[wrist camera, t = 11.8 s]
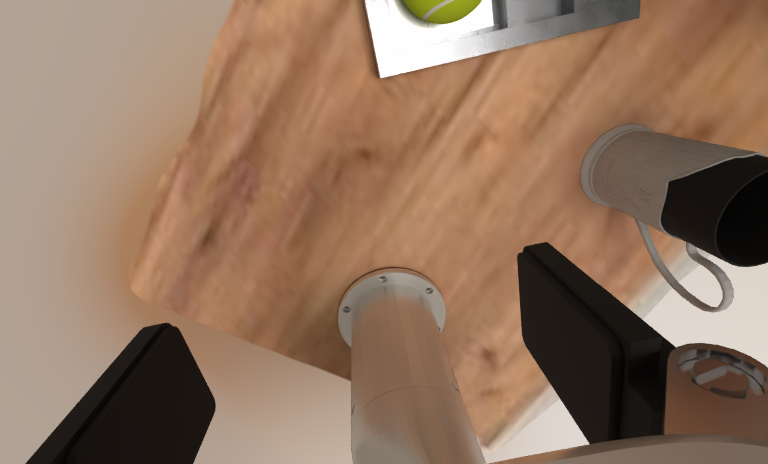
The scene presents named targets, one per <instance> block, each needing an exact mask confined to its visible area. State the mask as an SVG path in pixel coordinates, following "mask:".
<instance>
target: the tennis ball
mask: <svg viewBox="0 0 768 464" xmlns="http://www.w3.org/2000/svg"><path fill="white" fill-rule="evenodd" d="M404 1H405V3H406V4H407V6H408V7H409V9H410V10H411V11H412V12H413V13H414V14H415V15H416V16H417V17H419V18H420V19H421V18H422V19H423V20H424V21H426V22H429V23H433V24H449V23H453V22H456V21H459V20H461V19H463V18H464V17H466V16H467V15H469V14H470V13H471V12H473V11H474V10H475V9H476V8H477V7H478V6H479V5H480V3H481V2H482V1H483V0H404Z"/></svg>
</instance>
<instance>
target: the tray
mask: <svg viewBox="0 0 768 464" xmlns="http://www.w3.org/2000/svg"><path fill="white" fill-rule="evenodd" d="M363 4H364V9H365V14H366V19H367V24H368V29H369V34H370V39H371V44H372V49H373V54H374V58H375V63H376V68H377V73H378V78H384V77H388V76H392V75H396V74H401V73H405V72H409V71H414V70H418V69H422V68H426V67H431V66H435V65H439V64H444V63H448V62H452V61H456V60H461V59H465V58H469V57H474V56H478V55H482V54H486V53H491V52H495V51H499V50H503V49H508V48H512V47H516V46H521V45H525V44H529V43H533V42H538V41H542V40H546V39H551V38H555V37H559V36H563V35H568V34H572V33H576V32H581V31H585V30H589V29H593V28H598V27H602V26H606V25H611V24H615V23H619V22H623V21H628V20H632V19H636V18H639V14H640V0H483V1H482V2H481V3H480V5H479V6H478V7H477V8H476V9H475V10H474V11H473V12H471V13H470V14H469V15H467V16H466V17H464V18H463V19H461V20H459V21H456V22H453V23H449V24H433V23H429V22H426V21H424V20H423V19H422V18H421V19H420V18H419V17H417V16H416V15H415V14H414V13H413V12H412V11H411V10H410V9H409V7H408V6H407V4H406V3H405V1H404V0H363Z"/></svg>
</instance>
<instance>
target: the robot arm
mask: <svg viewBox="0 0 768 464" xmlns="http://www.w3.org/2000/svg"><path fill="white" fill-rule="evenodd" d="M517 262H518V278H519V294H520V310H521V326H522V336H523V340H524V343H525V345H526V347H527V349H528V350H529V352H530V353H531V355H532V356H533V358H534V359H535V361H536V362H537V364H538V365H539V367H540V368H541V370H542V372H543V373H544V375H545V376H546V378H547V379H548V381H549V382H550V384H551V385H552V387H553V388H554V390H555V391H556V393H557V395H558V396H559V398H560V399H561V401H562V402H563V404H564V405H565V407H566V408H567V410H568V411H569V413H570V414H571V416H572V417H573V419H574V421H575V422H576V424H577V425H578V427H579V428H580V430H581V431H582V433H583V434H584V436H585V437H586V439H587V440H588V442H589V445H584V446H578V447H573V448H568V449H562V450H557V451H551V452H546V453H541V454H535V455H530V456H524V457H519V458H514V459H509V460H505V461H499V462H495V463H489V464H768V368H767V367H766V366H765V365H763V364H762V363H760V362H759V361H757V360H756V359H754V358H752V357H751V356H748V355H746V354H744V353H741V352H739V351H737V350H734V349H730V348H726V347H723V346H719V345H713V344H705V343H694V344H686V345H683V346H679V347H677V348H676V347H675V346H674V345H672V344H671V343H670V342H669V341H667V340H666V339H665V338H664V337H662V336H661V335H660V334H659V333H658V332H657V331H655V330H654V329H653V328H652V327H650V326H649V325H648V324H647V323H646V322H644V321H643V320H642V319H641V318H640V317H638V316H637V315H636V314H635V313H633V312H632V311H631V310H630V309H629V308H627V307H626V306H625V305H624V304H622V303H621V302H620V301H619V300H618V299H616V298H615V297H614V296H613V295H612V294H610V293H609V292H608V291H607V290H605V289H604V288H603V287H602V286H600V285H599V284H597V283H596V282H595V281H594V280H593V279H591V278H590V277H589V276H588V275H587V274H585V273H584V272H583V271H582V270H581V269H579V268H578V267H577V266H576V265H574V264H573V263H572V262H571V261H570V260H568V259H567V258H566V257H565V256H564V255H562V254H561V253H560V252H559V251H557V250H556V249H555V248H554V247H553V246H551V245H550V244H549V243H547V242H544V243H539V244H534V245H530V246H525V247H524V249H523V252H522V253H519V254H518V256H517ZM382 276H384V277H382ZM346 306H347V307H346ZM445 320H446V306H445V303H444V300H443V297H442V295H441V293H440V291H439V289H438V288H437V287H436V285H435V284H434V283H433V282H432V281H431V280H429V279H428V278H427V277H425V276H423V275H422V274H420V273H417V272H415V271H412V270H408V269H402V268H388V269H382V270H377V271H375V272H372V273H369V274H367V275H365V276H363V277H362V278H360V279H358V280H357V281H356V282H355V283H354V284H352V285H351V286H350V288H349V289H348V290H347V291H346V293H345V294H344V296H343V298H342V300H341V302H340V306H339V310H338V326H339V330H340V333H341V336H342V337H343V339H344V341H345V342H346V343H347V345H348V346H349V347H350V348H351V450H352V459H353V463H354V464H486V462H485V459H484V457H483V454H482V451H481V448H480V446H479V443H478V440H477V437H476V435H475V432H474V429H473V426H472V423H471V420H470V417H469V414H468V412H467V409H466V406H465V403H464V401H463V398H462V395H461V392H460V389H459V386H458V383H457V380H456V377H455V374H454V371H453V368H452V365H451V362H450V359H449V357H448V354H447V351H446V348H445V345H444V342H443V339H442V336H441V332H442V330H443V327H444V325H445ZM214 412H215V399H214V397H213V395H212V393H211V391H210V389H209V387H208V385H207V383H206V381H205V379H204V377H203V375H202V373H201V371H200V369H199V368H198V366H197V363H196V361H195V359H194V357H193V356H192V354H191V352H190V350H189V348H188V346H187V344H186V342H185V340H184V338H183V336H182V334H181V332H180V330H179V329H178V328H177V327H175V326H174V327H173V326H172V325H171V324H169V323H162V324H158V325H153V326H148V327H144V328H143V329H142V330H140V331H139V333H138V334H137V335H136V336H135V337H134V338H133V339H132V341H131V342H130V343H129V344H128V345H127V347H126V348H125V349H124V350H123V351H122V352H121V354H120V355H119V356H118V357H117V358H116V359H115V360H114V362H113V363H112V364H111V365H110V366H109V368H108V369H107V370H106V371H105V372H104V373H103V374H102V375H101V377H100V378H99V379H98V380H97V381H96V382H95V384H94V385H93V386H92V387H91V388H90V390H89V391H88V392H87V393H86V394H85V395H84V396H83V398H82V399H81V400H80V401H79V402H78V403H77V404H76V406H75V407H74V408H73V409H72V410H71V411H70V413H69V414H68V415H67V416H66V417H65V419H64V420H63V421H62V422H61V423H60V424H59V425H58V427H57V428H56V429H55V430H54V431H53V432H52V433H51V435H50V436H49V437H48V438H47V439H46V440H45V442H44V443H43V444H42V445H41V446H40V447H39V449H38V450H37V451H36V452H35V453H34V455H33V456H32V457H31V458H30V459H29V460H28V461H27V463H26V464H193V463H194V460H195V458H196V455H197V453H198V451H199V448H200V446H201V444H202V441H203V439H204V436H205V434H206V432H207V429H208V427H209V425H210V422H211V420H212V418H213V415H214Z"/></svg>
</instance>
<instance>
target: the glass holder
mask: <svg viewBox="0 0 768 464" xmlns="http://www.w3.org/2000/svg"><path fill="white" fill-rule="evenodd" d="M580 182H581V186H582V189H583V191H584V193H585V195H586V196H587V197H588V198H589V199H590V200H591V201H593V202H594V203H596V204H599V205H602V206H610V207H614V208H616V209H618V210H620V211H622V212H624V213H626V214H628V215H630V216H632V217H634V218H635V221H636V223H637V225H638V228H639V230H640V232H641V235H642V237H643V240H644V243H645V245H646V247H647V249H648V252H649V254H650V256H651V258H652V260H653V262H654V264H655V266H656V268H657V269H658V270H659V272H660V273H661V275H662V276H663V277H664V278H665V280H666V281H667V282H668V283H669V284H670V286H671V287H672V288H673V289H675V290H676V291H677V292H678V293H679V294H680V295H681V296H682V297H683V298H685V299H686V300H687V301H689V302H690V303H691V304H693V305H694V306H696V307H698V308H700V309H701V310H703V311H708V312H719V311H722V310H725V309H727V308H728V307H729V305H730V304H731V303H732V300H733V297H734V293H733V287H732V284H731V282H730V280H729V278H728V277H727V275H726V274H725V272H724V271H723V270H722V269H721V268H720V267H718V266H717V265H716V264H714V263H713V262H711V261H710V260H708V259H706V258H704V257H703V256H701V255H700V254H699V253H698V252H697V250H696V247H698V248H700V249H702V250H704V251H706V252H708V253H710V254H712V255H714V256H716V257H718V258H720V259H722V260H724V261H726V262H728V263H730V264H732V265H735V266H739V267H751V266H757V265H761V264H765V263H767V262H768V157H765V154H762V153H758V152H753V151H748V150H743V149H737V148H732V147H727V146H722V145H717V144H712V143H706V142H701V141H696V140H691V139H686V138H681V137H676V136H670V135H665V134H660V133H655V132H653V131H652V130H651V129H649V128H648V127H646V126H643V125H639V124H625V125H621V126H618V127H615V128H613V129H611V130H609V131H608V132H606V133H605V134H603V135H602V136H601V137H600V138H598V139H597V140H596V141H595V142H594V144H593V145H592V146H591V147H590V149H589V150H588V152H587V153H586V155H585V158H584V160H583V163H582V166H581V172H580ZM646 224H647V225H649V226H651V227H653V228H655V229H657V230H659V231H661V232H663V233H665V234H667V235H669V236H671V237H673V238H677V239H682V240H684V241H686V250H687V253H688V255H689V256H690V257H691V258H692V259H693V260H694V261H696V262H697V263H699V264H701V265H703V266H704V267H706V268H707V269H708V270H709V271H710V272H711V273H712V274H713V275H715V277H716V278H717V280H718V281H719V283H720V285H721V288H722V291H723V299H722V301H721V303H720V305H719V306H718V307H711V306H709V305H707V304H705V303H703V302H701V301H700V300H698V299H697V298H696V297H694V296H693V295H692V294H690V293H689V292H688V291H687V290H686V289H684V287H683V286H682V285H680V284H679V283H678V282H677V280H676V279H675V278H674V277H673V275H672V274H671V273H670V272H669V270H668V269H667V267H666V266H665V265H664V263H663V261H662V259H661V258H660V256H659V254H658V252H657V250H656V247H655V245H654V243H653V241H652V238H651V235H650V233H649V230H648V228H647V226H646Z"/></svg>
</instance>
